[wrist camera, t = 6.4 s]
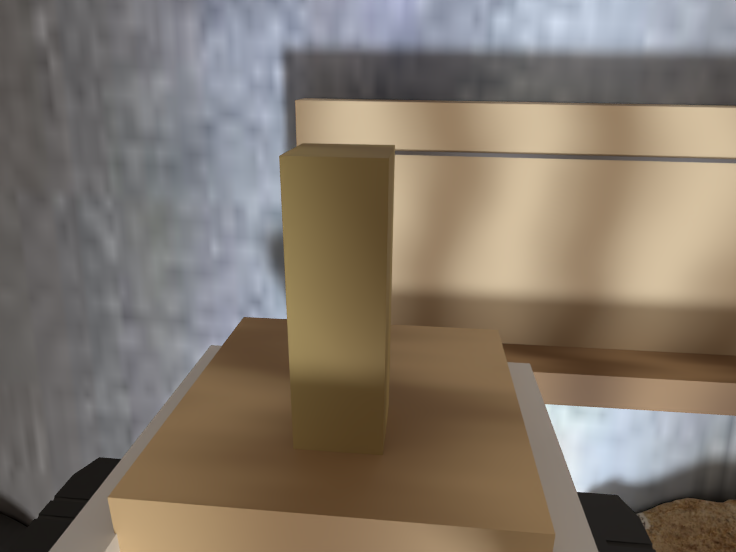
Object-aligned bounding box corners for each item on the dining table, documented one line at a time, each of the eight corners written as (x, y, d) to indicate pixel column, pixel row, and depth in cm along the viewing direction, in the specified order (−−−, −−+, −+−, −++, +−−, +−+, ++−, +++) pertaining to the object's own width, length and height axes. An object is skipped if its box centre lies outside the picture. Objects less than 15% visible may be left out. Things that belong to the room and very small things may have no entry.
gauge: (254, 455, 14) (145, 694, 9) (228, 122, 12) (42, 167, 6) (484, 471, 14) (521, 737, 8) (518, 127, 11) (612, 181, 5)
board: (311, 341, 28) (291, 388, 24) (305, 98, 24) (280, 103, 20) (803, 368, 26) (875, 424, 22) (888, 108, 22) (997, 116, 18)
